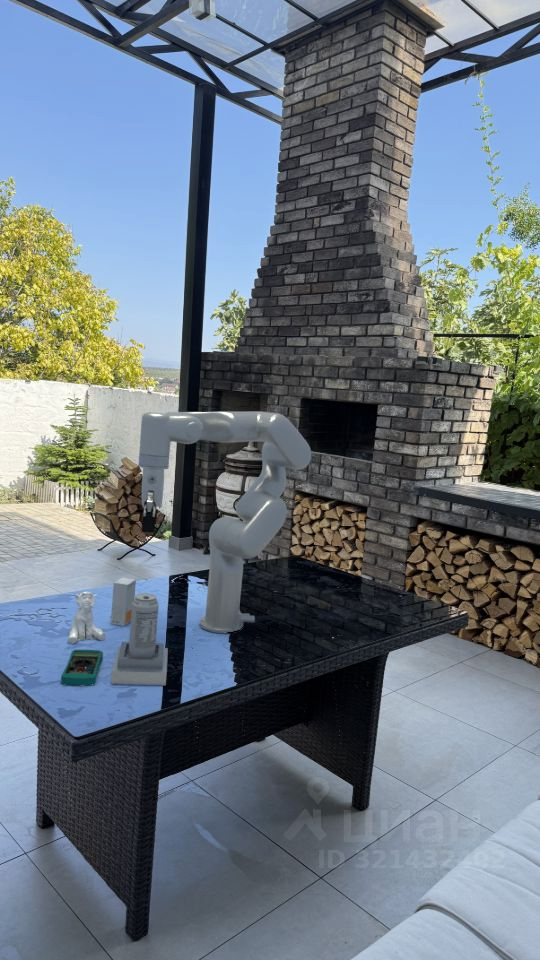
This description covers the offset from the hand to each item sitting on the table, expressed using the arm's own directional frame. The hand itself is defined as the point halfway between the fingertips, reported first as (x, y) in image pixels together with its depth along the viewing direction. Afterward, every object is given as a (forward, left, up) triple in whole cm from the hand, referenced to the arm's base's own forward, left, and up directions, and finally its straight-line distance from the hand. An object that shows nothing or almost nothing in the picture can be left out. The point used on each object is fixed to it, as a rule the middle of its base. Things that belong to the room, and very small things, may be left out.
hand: (149, 528), depth 161 cm
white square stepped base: (-1, +18, -30) cm, 35 cm away
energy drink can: (-1, +18, -28) cm, 33 cm away
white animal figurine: (+15, -2, -31) cm, 34 cm away
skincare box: (+6, -14, -31) cm, 34 cm away
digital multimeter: (+12, +19, -31) cm, 38 cm away
